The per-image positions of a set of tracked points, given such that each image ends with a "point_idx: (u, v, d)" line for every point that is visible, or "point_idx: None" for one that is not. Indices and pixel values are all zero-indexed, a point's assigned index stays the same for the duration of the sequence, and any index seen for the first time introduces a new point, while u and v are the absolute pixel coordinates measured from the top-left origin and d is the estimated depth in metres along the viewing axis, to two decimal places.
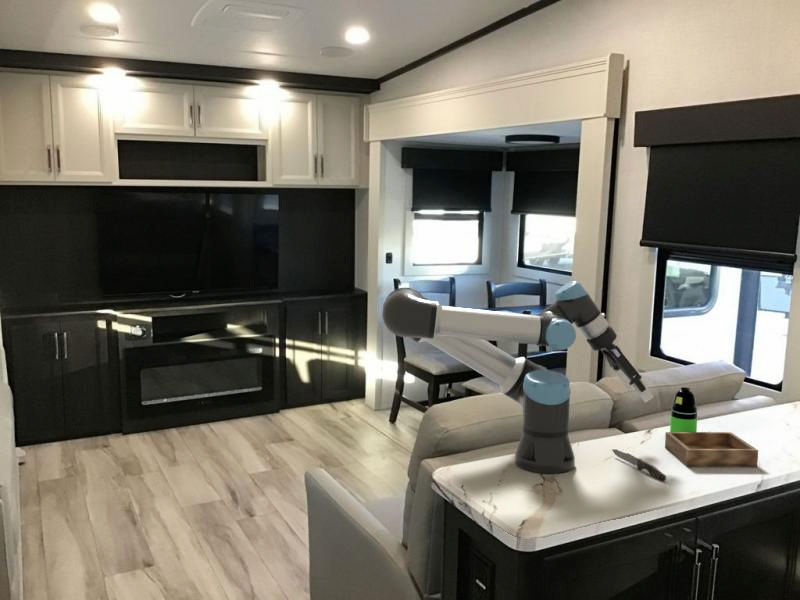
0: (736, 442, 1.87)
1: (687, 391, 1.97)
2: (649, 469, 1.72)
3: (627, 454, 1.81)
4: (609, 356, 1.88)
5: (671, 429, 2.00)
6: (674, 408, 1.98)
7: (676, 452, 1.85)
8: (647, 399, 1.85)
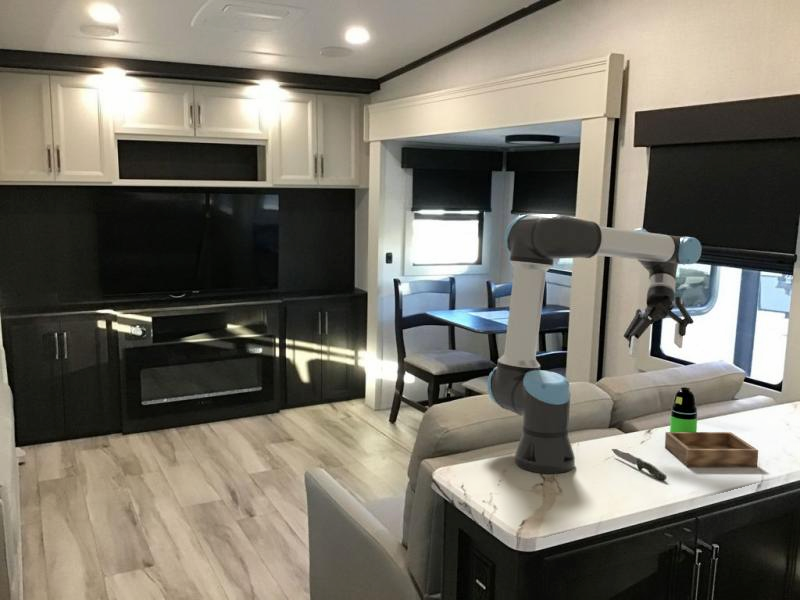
0: (736, 442, 1.87)
1: (687, 391, 1.97)
2: (649, 469, 1.72)
3: (627, 454, 1.81)
4: (663, 305, 1.97)
5: (671, 429, 2.00)
6: (674, 408, 1.98)
7: (676, 452, 1.85)
8: (678, 342, 1.86)
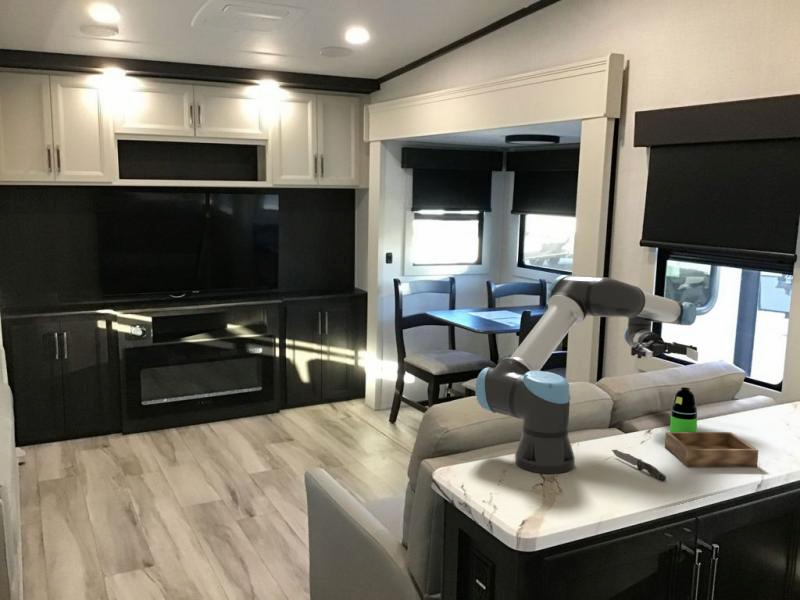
0: (736, 442, 1.87)
1: (687, 391, 1.97)
2: (649, 469, 1.72)
3: (627, 454, 1.81)
4: None
5: (671, 429, 2.00)
6: (674, 408, 1.98)
7: (676, 452, 1.85)
8: None
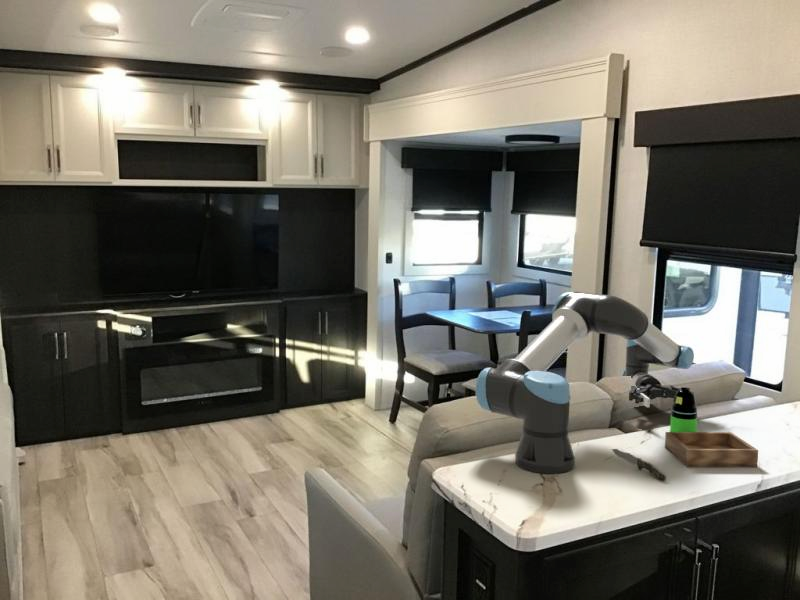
0: (736, 442, 1.87)
1: (687, 391, 1.97)
2: (649, 469, 1.72)
3: (627, 454, 1.81)
4: None
5: (671, 429, 2.00)
6: (674, 408, 1.98)
7: (676, 452, 1.85)
8: None
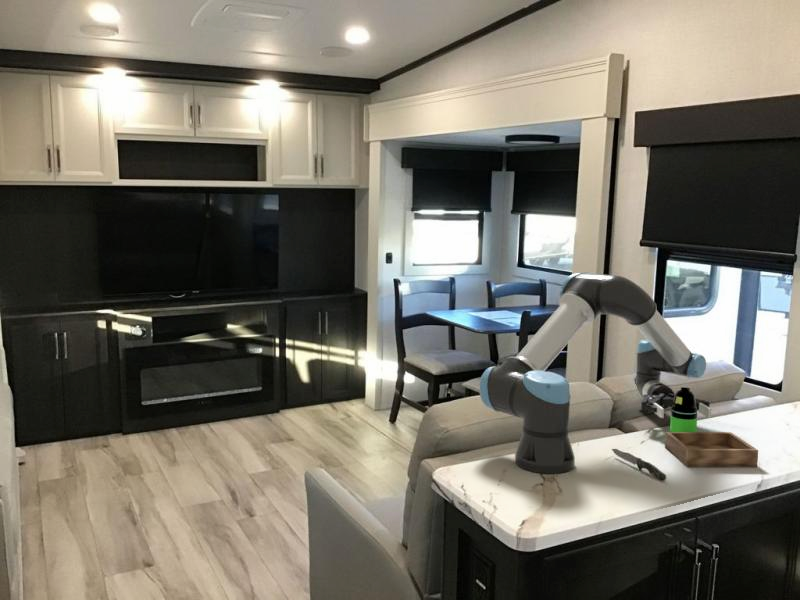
0: (736, 442, 1.87)
1: (687, 391, 1.97)
2: (649, 468, 1.72)
3: (627, 453, 1.81)
4: None
5: (671, 429, 2.00)
6: (674, 408, 1.98)
7: (676, 452, 1.85)
8: None
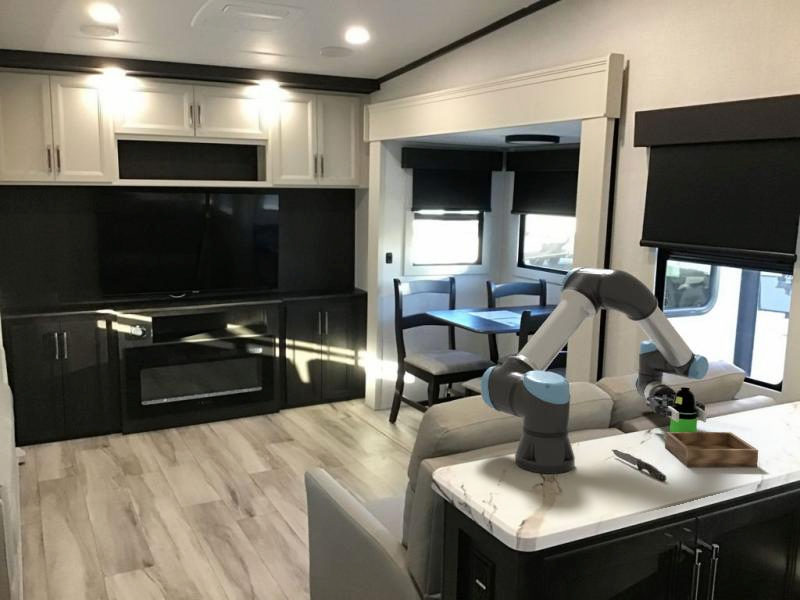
0: (736, 442, 1.87)
1: (687, 391, 1.97)
2: (649, 469, 1.72)
3: (627, 454, 1.81)
4: None
5: (671, 429, 2.00)
6: (674, 408, 1.98)
7: (676, 452, 1.85)
8: None
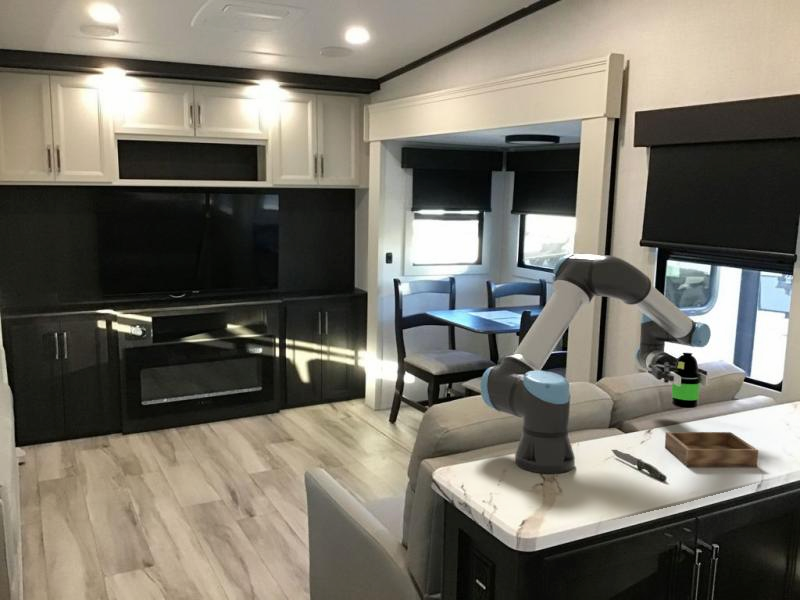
0: (736, 442, 1.87)
1: (689, 356, 1.96)
2: (649, 469, 1.72)
3: (627, 454, 1.81)
4: None
5: (673, 394, 1.99)
6: (676, 373, 1.97)
7: (676, 452, 1.85)
8: None
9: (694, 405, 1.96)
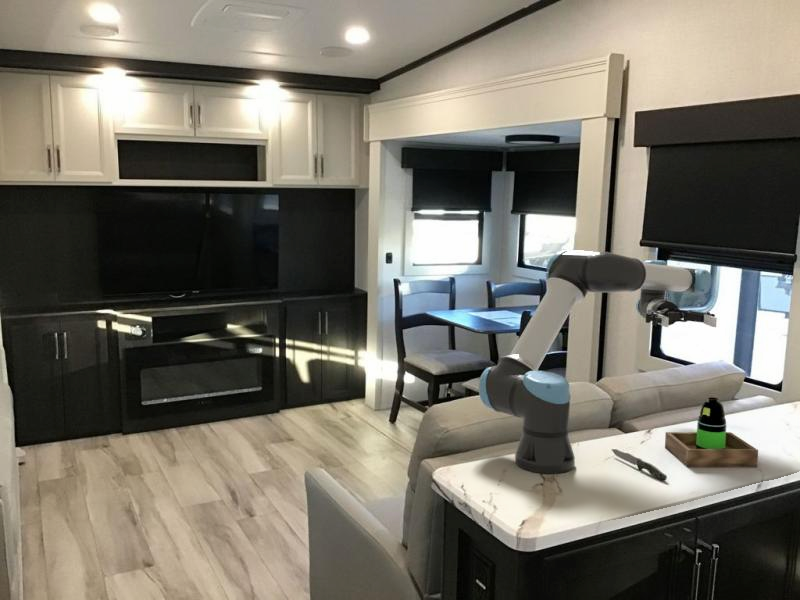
0: (736, 442, 1.87)
1: (715, 401, 1.82)
2: (649, 469, 1.72)
3: (627, 454, 1.81)
4: None
5: (698, 442, 1.85)
6: (701, 420, 1.83)
7: (676, 452, 1.85)
8: None
9: None
